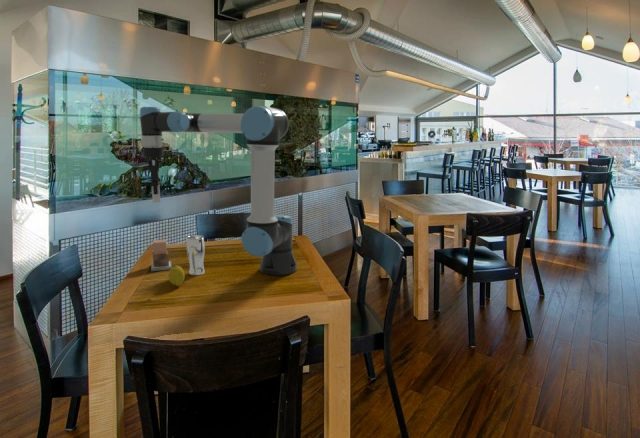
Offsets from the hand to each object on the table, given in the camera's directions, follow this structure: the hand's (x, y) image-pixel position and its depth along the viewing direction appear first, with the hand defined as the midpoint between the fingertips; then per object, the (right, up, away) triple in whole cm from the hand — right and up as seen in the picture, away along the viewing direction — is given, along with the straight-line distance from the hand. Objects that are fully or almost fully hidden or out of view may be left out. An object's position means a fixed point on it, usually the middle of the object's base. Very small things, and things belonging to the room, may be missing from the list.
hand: (156, 199), depth 173 cm
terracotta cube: (0, -22, +5) cm, 23 cm away
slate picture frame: (0, -28, +6) cm, 29 cm away
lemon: (+14, -33, -16) cm, 39 cm away
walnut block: (0, -27, +6) cm, 28 cm away
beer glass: (+17, -30, -2) cm, 34 cm away
